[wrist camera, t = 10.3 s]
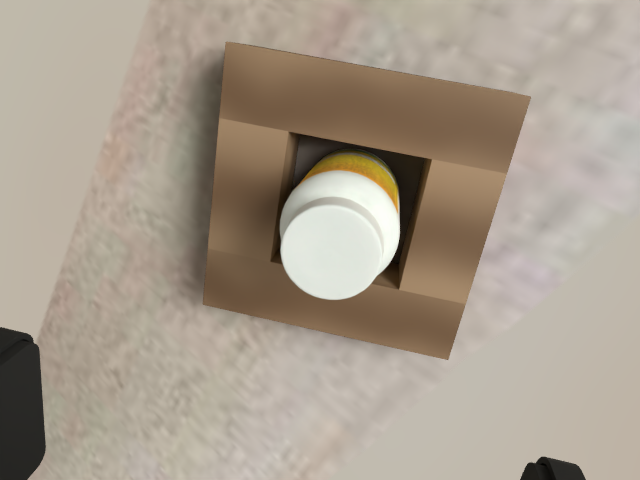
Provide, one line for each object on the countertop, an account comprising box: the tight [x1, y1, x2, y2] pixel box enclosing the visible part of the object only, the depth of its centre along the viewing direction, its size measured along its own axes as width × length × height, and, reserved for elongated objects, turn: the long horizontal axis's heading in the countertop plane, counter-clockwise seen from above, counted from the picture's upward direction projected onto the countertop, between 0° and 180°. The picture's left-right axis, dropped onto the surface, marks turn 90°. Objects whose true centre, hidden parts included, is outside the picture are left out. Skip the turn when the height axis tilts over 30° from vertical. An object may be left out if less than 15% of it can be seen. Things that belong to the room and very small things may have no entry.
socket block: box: [203, 42, 531, 360], centre depth 26 cm, size 14×14×4 cm
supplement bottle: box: [280, 149, 400, 300], centre depth 23 cm, size 5×5×10 cm
